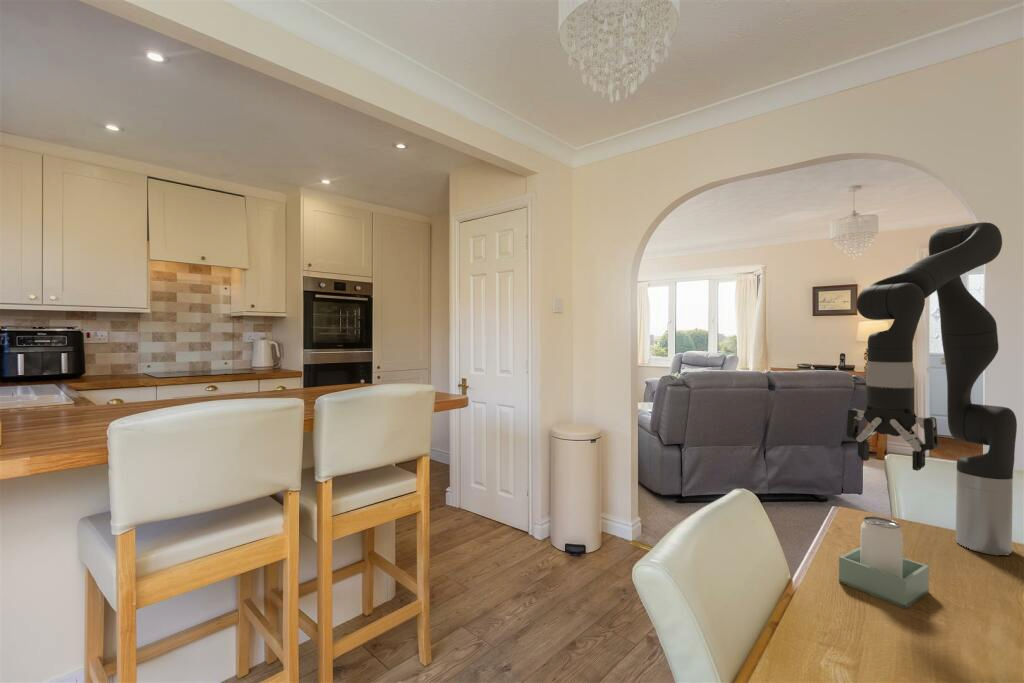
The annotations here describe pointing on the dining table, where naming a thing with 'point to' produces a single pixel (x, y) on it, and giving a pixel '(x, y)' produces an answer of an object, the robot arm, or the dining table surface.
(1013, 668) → the dining table surface
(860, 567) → the bin
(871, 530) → the can
